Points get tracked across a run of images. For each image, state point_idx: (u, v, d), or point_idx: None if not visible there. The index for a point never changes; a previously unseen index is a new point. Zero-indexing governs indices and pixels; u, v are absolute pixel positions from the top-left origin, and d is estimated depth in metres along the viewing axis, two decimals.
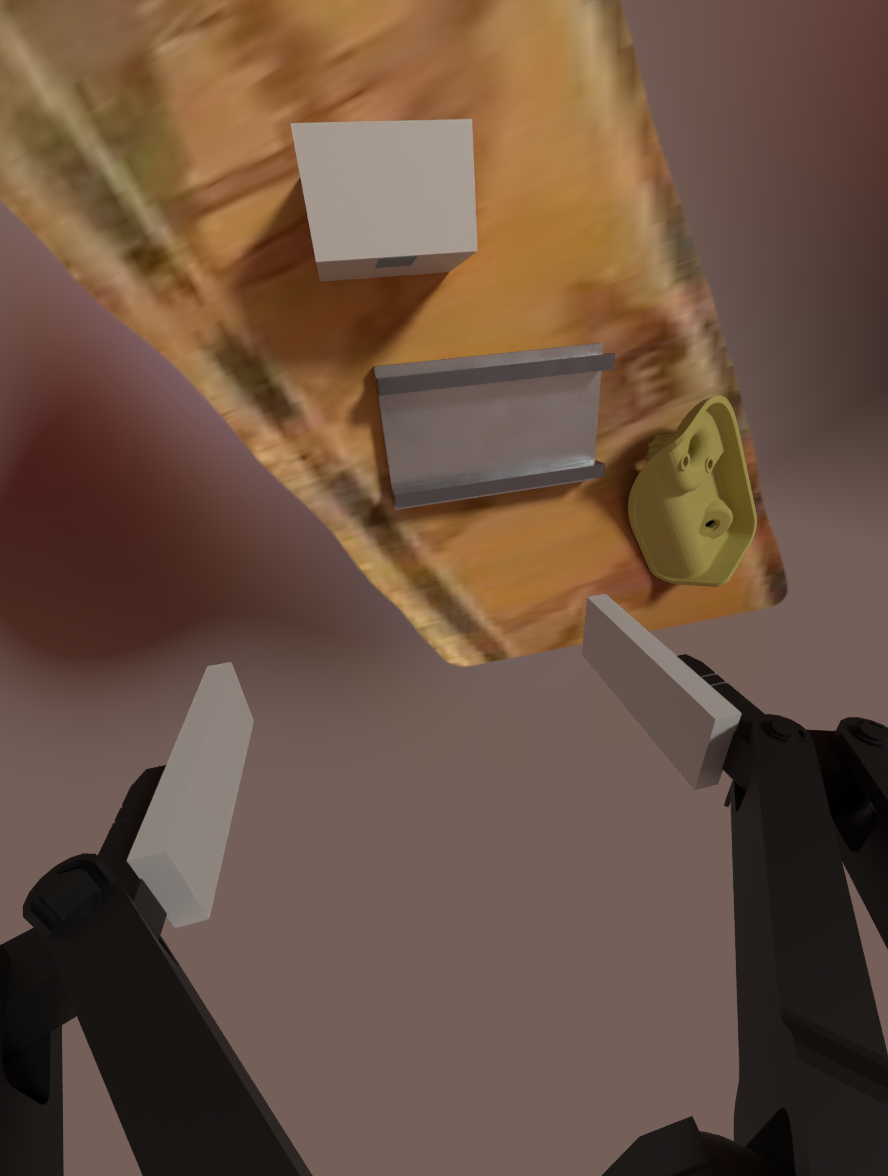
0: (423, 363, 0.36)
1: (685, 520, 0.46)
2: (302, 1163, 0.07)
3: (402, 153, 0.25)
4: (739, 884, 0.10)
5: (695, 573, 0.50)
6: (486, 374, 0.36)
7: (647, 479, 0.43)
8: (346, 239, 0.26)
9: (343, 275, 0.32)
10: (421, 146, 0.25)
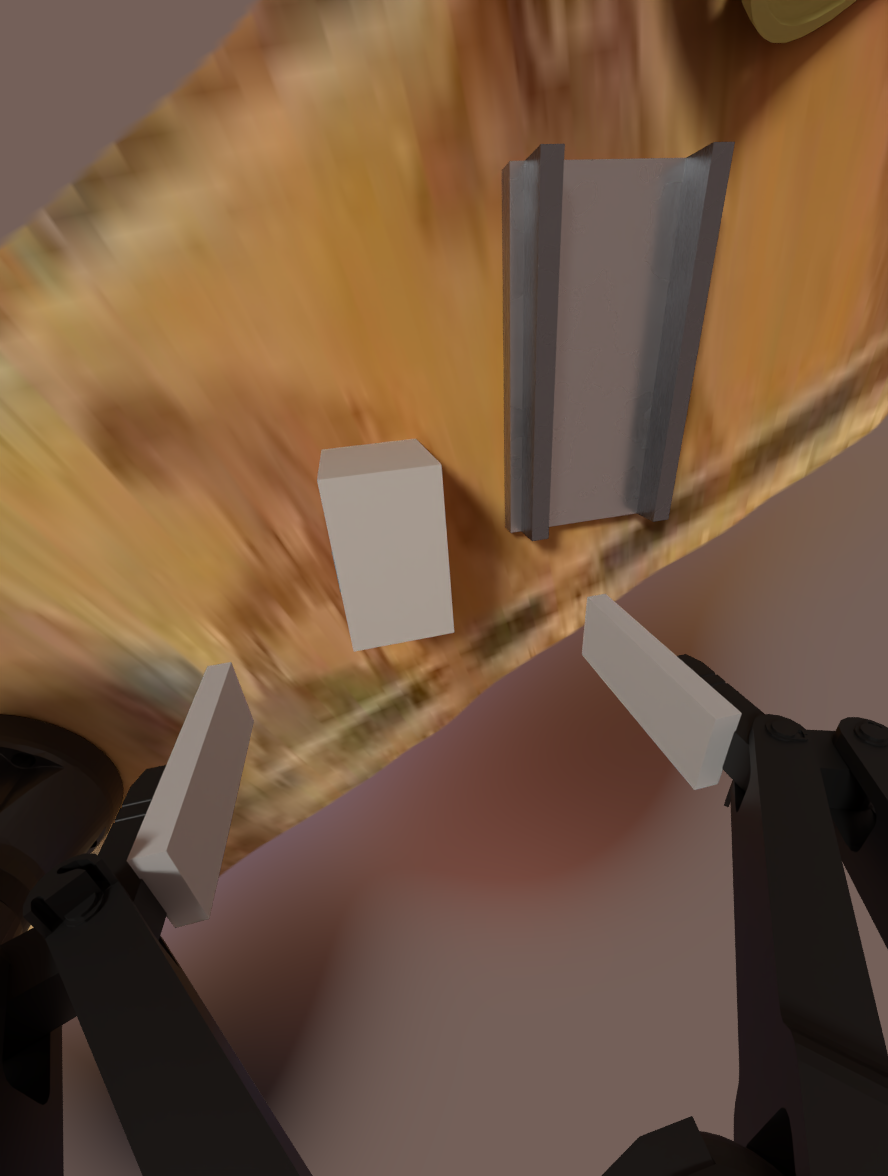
0: (512, 476, 0.30)
1: None
2: (302, 1163, 0.07)
3: (360, 555, 0.23)
4: (739, 883, 0.10)
5: None
6: (543, 402, 0.26)
7: None
8: (435, 606, 0.25)
9: None
10: (351, 536, 0.22)
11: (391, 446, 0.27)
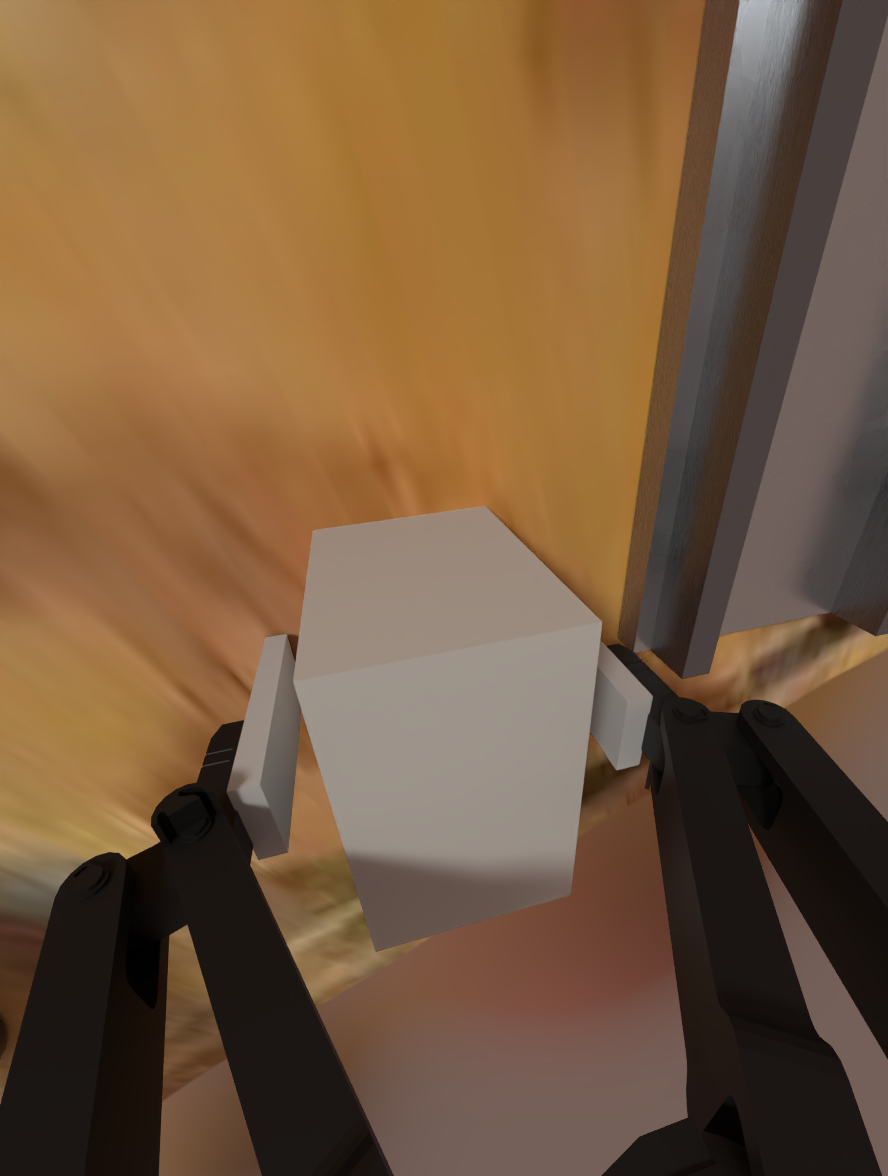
0: (650, 568, 0.17)
1: None
2: (358, 1100, 0.07)
3: (396, 810, 0.10)
4: (666, 866, 0.10)
5: None
6: (751, 448, 0.13)
7: None
8: (543, 866, 0.12)
9: None
10: (377, 779, 0.09)
11: (447, 529, 0.14)
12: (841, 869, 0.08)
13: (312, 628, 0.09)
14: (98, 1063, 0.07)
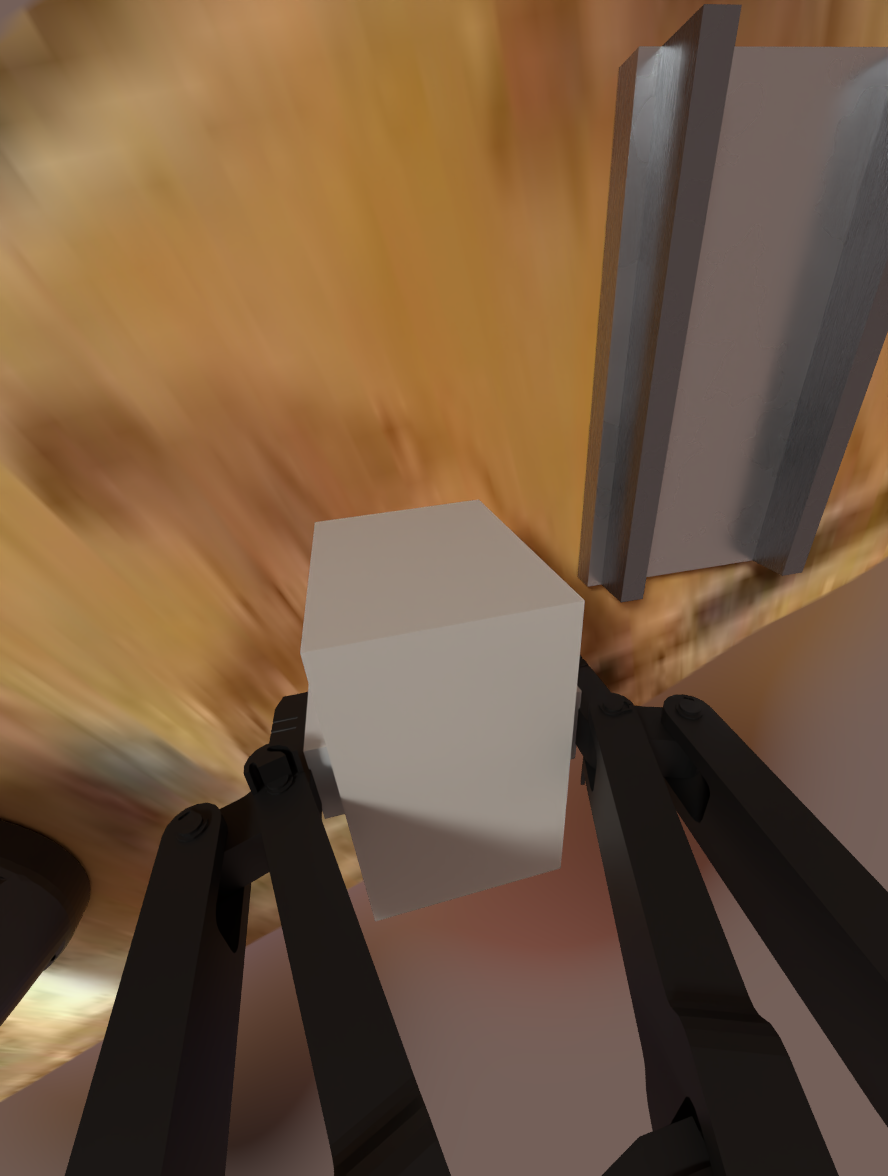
0: (596, 515, 0.22)
1: None
2: None
3: (394, 780, 0.11)
4: (607, 862, 0.10)
5: None
6: (658, 418, 0.18)
7: None
8: (533, 838, 0.13)
9: None
10: (378, 749, 0.10)
11: (442, 521, 0.15)
12: (769, 857, 0.09)
13: (317, 608, 0.10)
14: (190, 994, 0.07)
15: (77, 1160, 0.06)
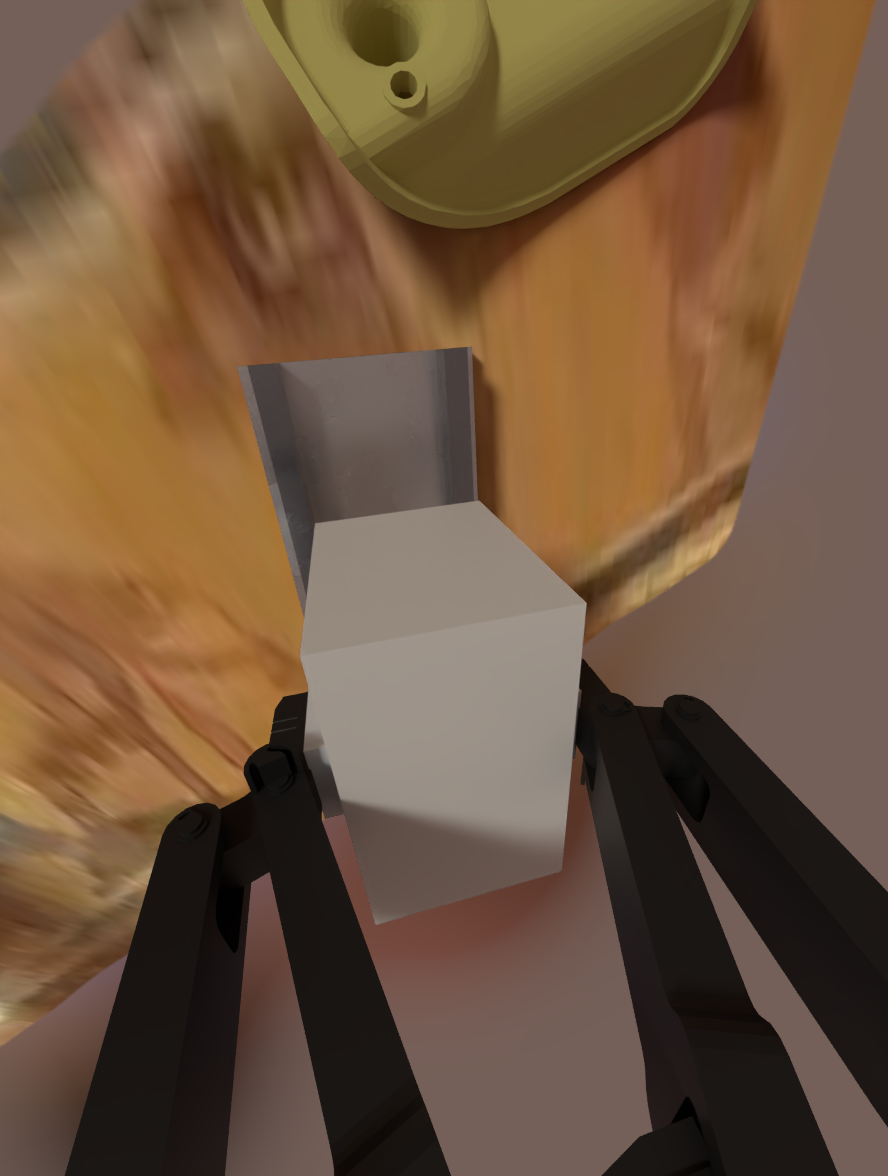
0: None
1: (568, 40, 0.17)
2: None
3: (395, 783, 0.11)
4: (607, 862, 0.10)
5: None
6: None
7: (441, 191, 0.19)
8: (534, 841, 0.13)
9: None
10: (378, 753, 0.10)
11: (443, 522, 0.15)
12: (769, 857, 0.09)
13: (317, 610, 0.10)
14: (190, 995, 0.07)
15: (76, 1161, 0.06)
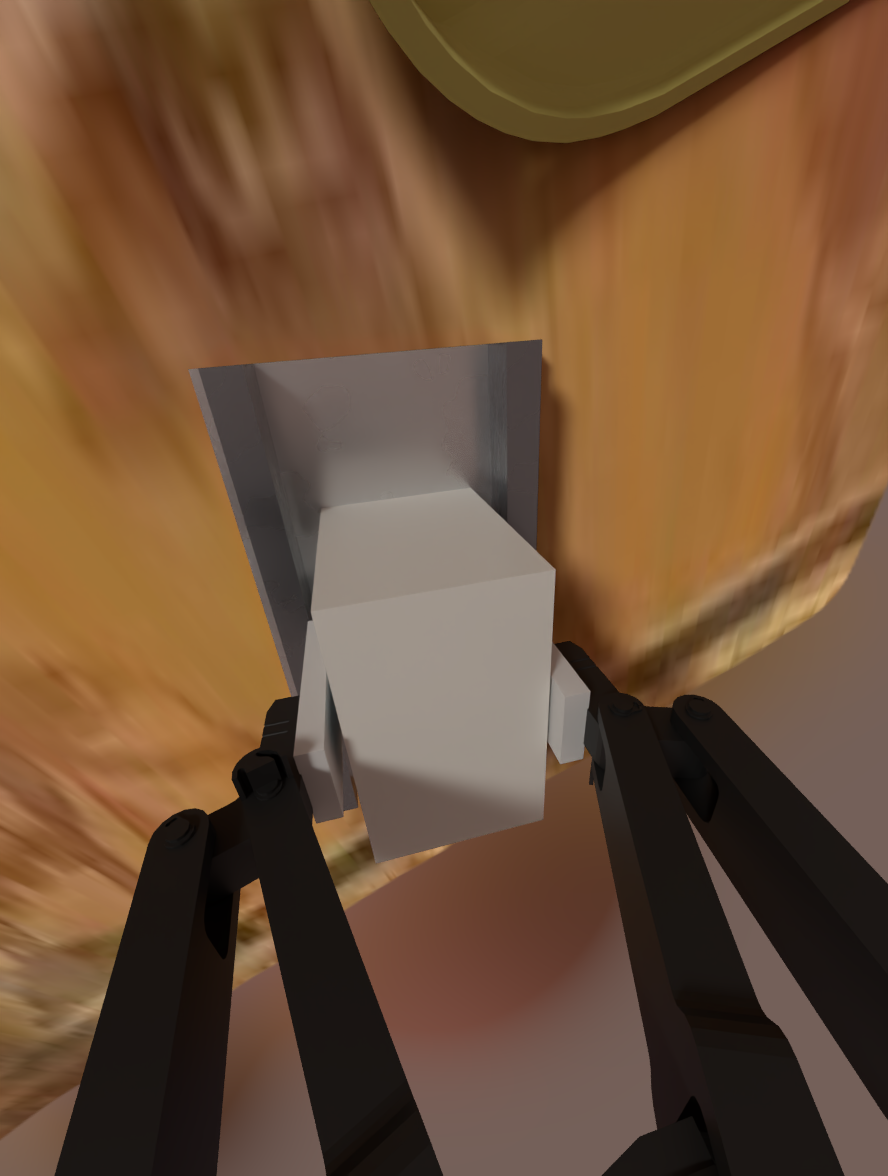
0: None
1: None
2: None
3: (392, 729, 0.12)
4: (615, 862, 0.10)
5: None
6: None
7: (505, 61, 0.11)
8: (517, 789, 0.15)
9: None
10: (377, 700, 0.12)
11: (436, 506, 0.16)
12: (778, 858, 0.09)
13: (324, 577, 0.12)
14: (178, 1002, 0.07)
15: (62, 1175, 0.06)
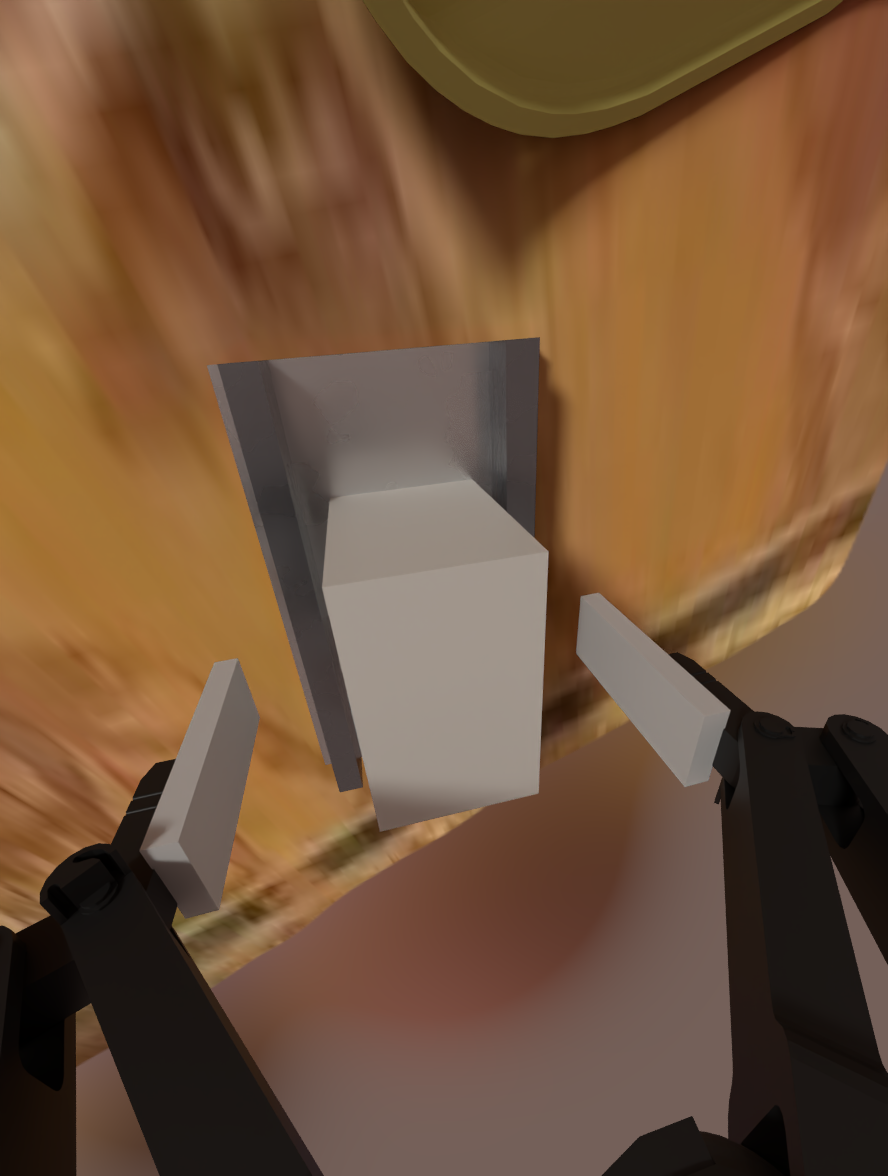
0: (312, 711, 0.23)
1: None
2: (309, 1154, 0.07)
3: (396, 701, 0.13)
4: (730, 881, 0.10)
5: None
6: (314, 656, 0.19)
7: (491, 56, 0.11)
8: (514, 763, 0.16)
9: None
10: (382, 673, 0.13)
11: (439, 496, 0.17)
12: None
13: (334, 558, 0.12)
14: None
15: None
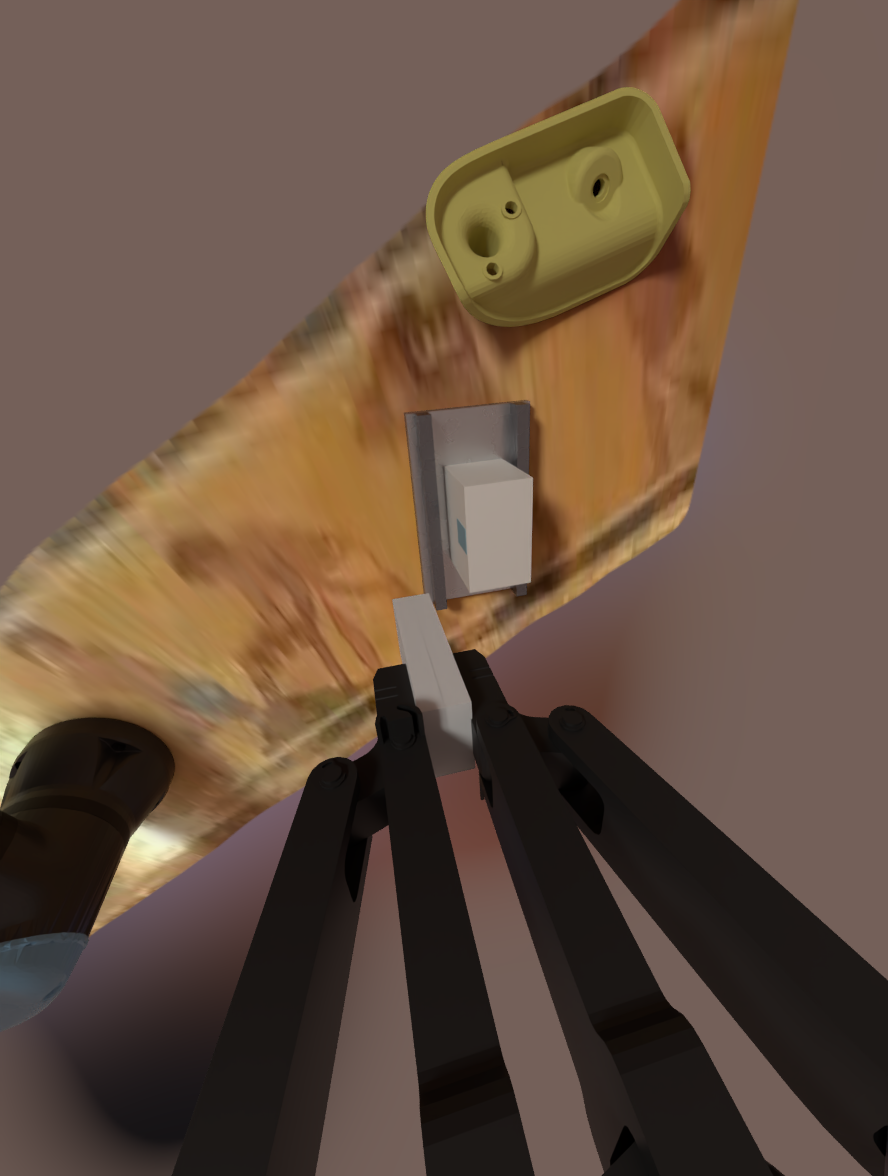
0: (423, 570, 0.48)
1: (571, 250, 0.35)
2: None
3: (481, 531, 0.38)
4: (516, 881, 0.10)
5: (656, 223, 0.36)
6: (434, 535, 0.44)
7: (500, 309, 0.36)
8: (521, 565, 0.41)
9: None
10: (478, 519, 0.38)
11: (490, 464, 0.42)
12: (666, 864, 0.09)
13: (462, 481, 0.38)
14: (320, 931, 0.08)
15: (224, 1040, 0.07)
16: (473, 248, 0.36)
